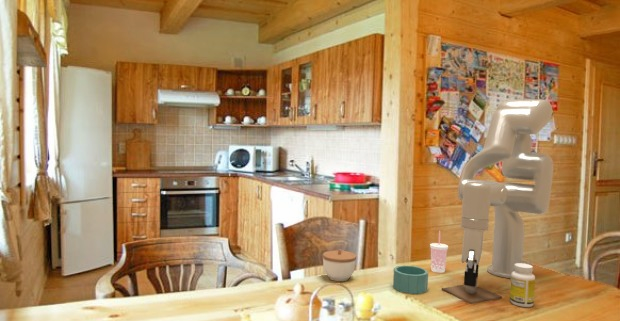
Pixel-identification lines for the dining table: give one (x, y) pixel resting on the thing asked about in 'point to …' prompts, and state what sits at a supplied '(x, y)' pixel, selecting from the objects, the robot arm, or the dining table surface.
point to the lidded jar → (339, 264)
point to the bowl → (410, 279)
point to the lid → (471, 293)
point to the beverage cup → (438, 256)
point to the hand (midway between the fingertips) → (471, 281)
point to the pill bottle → (522, 285)
